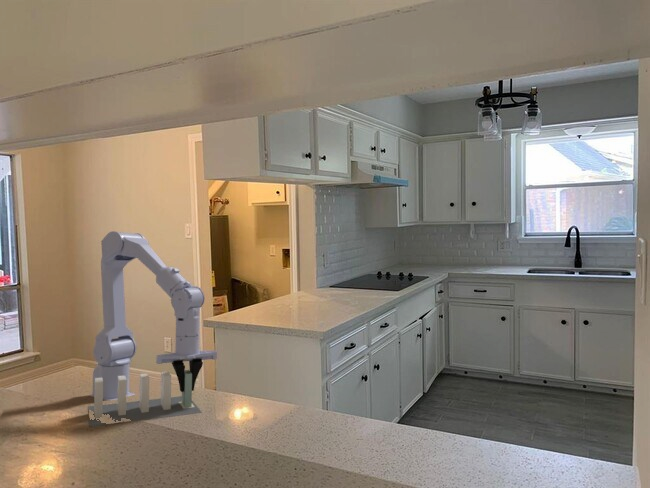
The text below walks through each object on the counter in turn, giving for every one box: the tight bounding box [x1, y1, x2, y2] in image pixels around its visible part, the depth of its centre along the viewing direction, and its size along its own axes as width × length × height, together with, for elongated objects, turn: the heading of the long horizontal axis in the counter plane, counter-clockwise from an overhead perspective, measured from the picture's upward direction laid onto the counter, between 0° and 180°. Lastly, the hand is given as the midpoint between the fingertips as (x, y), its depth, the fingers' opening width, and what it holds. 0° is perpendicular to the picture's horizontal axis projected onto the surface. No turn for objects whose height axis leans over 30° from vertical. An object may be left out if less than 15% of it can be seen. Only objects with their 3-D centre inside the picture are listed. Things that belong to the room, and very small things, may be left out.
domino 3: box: [138, 373, 150, 413], centre depth 119 cm, size 2×5×8 cm, turn 26°
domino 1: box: [93, 378, 104, 418], centre depth 114 cm, size 2×5×8 cm, turn 26°
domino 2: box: [116, 375, 127, 415], centre depth 117 cm, size 2×5×8 cm, turn 26°
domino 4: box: [160, 371, 172, 410], centre depth 121 cm, size 2×5×8 cm, turn 26°
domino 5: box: [181, 369, 193, 407], centre depth 123 cm, size 2×5×8 cm, turn 24°
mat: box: [87, 395, 203, 428], centre depth 119 cm, size 24×17×1 cm
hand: (186, 390), depth 123 cm, fingers closed on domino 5, 2 cm apart
